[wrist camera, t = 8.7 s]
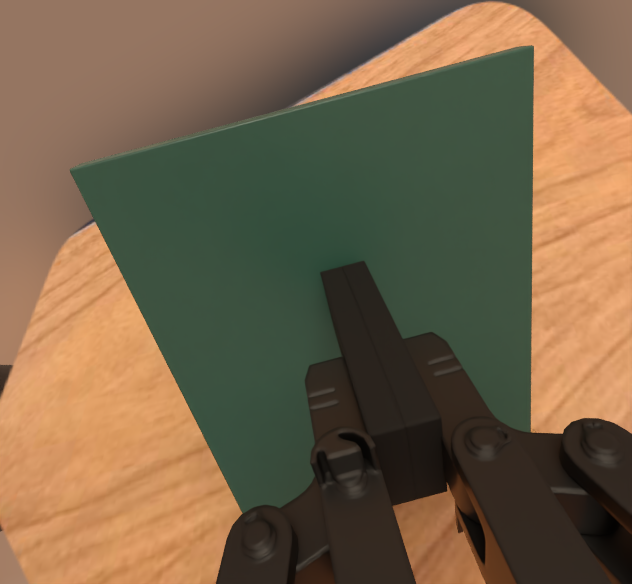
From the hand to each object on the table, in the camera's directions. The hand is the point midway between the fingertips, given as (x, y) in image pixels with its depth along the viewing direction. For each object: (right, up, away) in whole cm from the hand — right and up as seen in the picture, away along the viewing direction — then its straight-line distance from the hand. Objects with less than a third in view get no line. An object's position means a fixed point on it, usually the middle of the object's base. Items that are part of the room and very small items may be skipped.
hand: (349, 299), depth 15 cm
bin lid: (0, -1, +2) cm, 2 cm away
